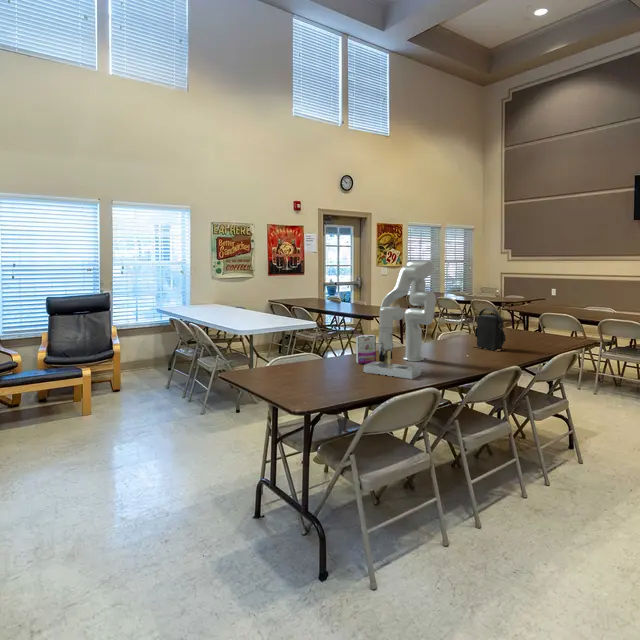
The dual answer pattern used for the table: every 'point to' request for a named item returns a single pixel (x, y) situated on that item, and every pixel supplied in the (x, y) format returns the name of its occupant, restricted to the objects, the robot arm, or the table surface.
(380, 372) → the white holder tray
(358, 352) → the candy bar box
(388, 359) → the peg
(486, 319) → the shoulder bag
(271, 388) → the table surface
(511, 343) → the table surface
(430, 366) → the table surface
